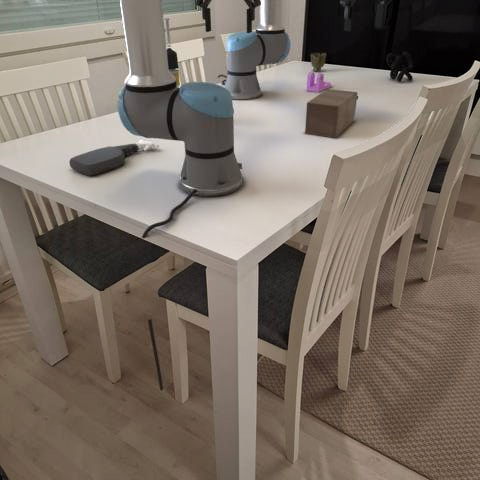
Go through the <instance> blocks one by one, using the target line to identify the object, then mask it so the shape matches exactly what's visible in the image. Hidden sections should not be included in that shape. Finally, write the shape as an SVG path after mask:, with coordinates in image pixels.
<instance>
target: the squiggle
mask: <svg viewBox="0 0 480 480" xmlns="http://www.w3.org/2000/svg"><path fill="white" fill-rule="evenodd" d="M401 57H402V59H401ZM391 59H392V60H391ZM393 60H394V61H393ZM385 61H386V64H387V67H390V68H391V70H390V72H389V78H390V79H391V80H395V79H396V81H397V82H399V83H400V82H402V81H403V79H404V76H406V78H407V80H408V81H412V80H413V79H414V77H413V75H412V74H411V73H410V72H409V71H410V70H412V69H413V68H414V64H413V61H412V57H411V54H410V53H409V52H408V51H403V53H402V54H401V55H396V54H394V53H392V52H390V53H387V55H386V57H385ZM406 62H407V65H408V66H407V67H405V66H404V65H405V64H406ZM400 70H401V71H400Z"/></svg>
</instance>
